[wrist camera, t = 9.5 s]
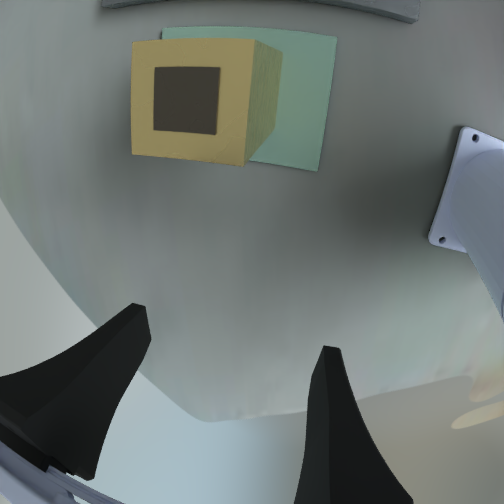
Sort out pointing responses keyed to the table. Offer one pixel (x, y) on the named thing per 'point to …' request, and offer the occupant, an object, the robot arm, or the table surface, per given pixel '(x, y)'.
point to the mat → (288, 89)
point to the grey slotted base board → (382, 3)
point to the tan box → (203, 98)
